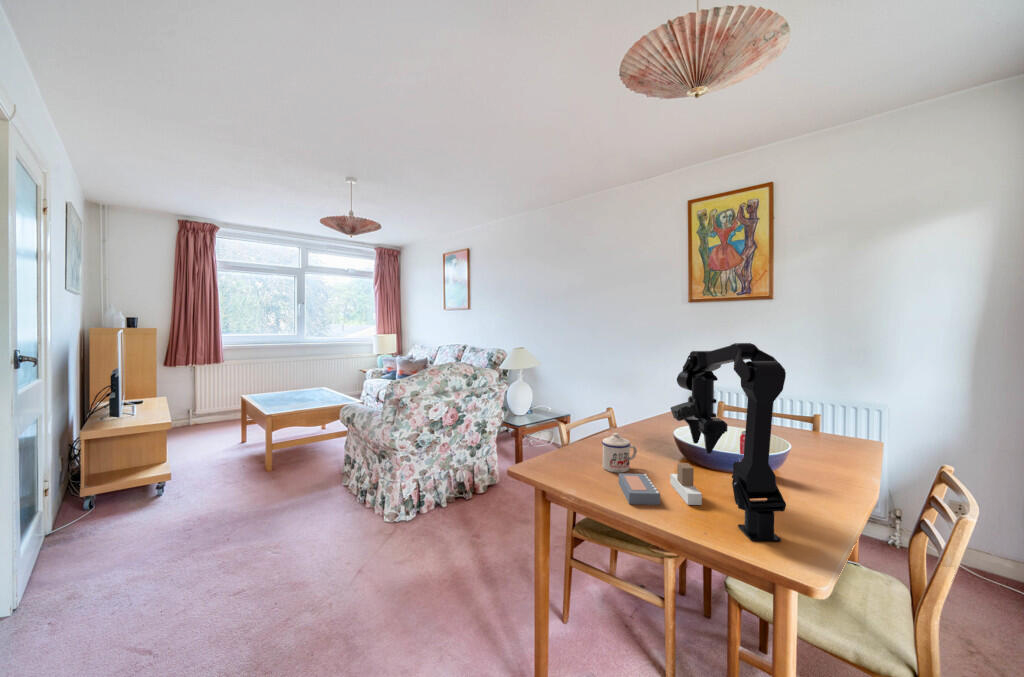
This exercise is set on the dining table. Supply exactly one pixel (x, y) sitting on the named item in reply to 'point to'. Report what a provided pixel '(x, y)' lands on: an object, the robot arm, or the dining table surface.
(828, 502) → the dining table surface
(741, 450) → the soda can
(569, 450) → the dining table surface
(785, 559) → the dining table surface
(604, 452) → the teacup with lid
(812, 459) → the dining table surface
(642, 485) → the grey flat block
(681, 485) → the stub
